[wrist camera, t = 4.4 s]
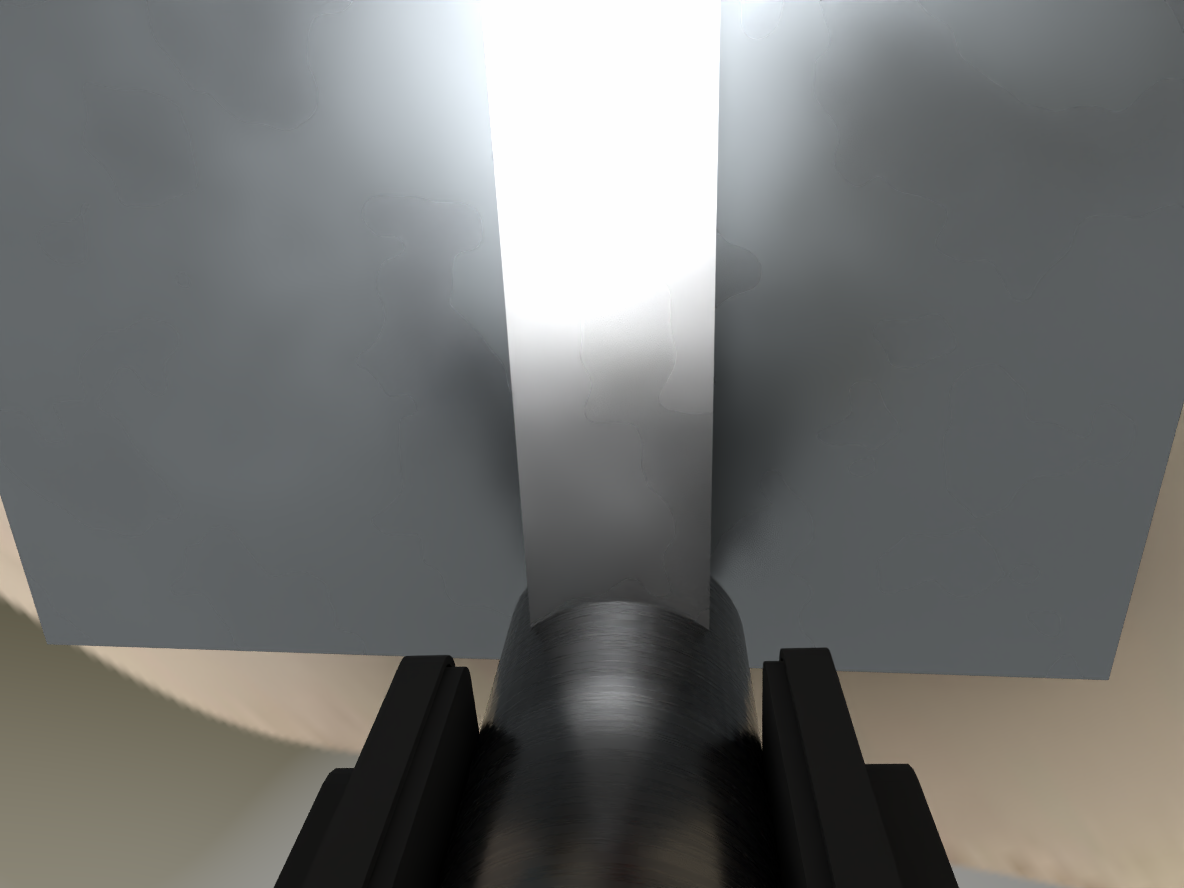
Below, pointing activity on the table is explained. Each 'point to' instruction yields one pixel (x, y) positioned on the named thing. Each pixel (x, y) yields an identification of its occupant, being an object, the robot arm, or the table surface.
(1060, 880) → the table surface
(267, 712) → the table surface
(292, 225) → the base
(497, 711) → the lever
